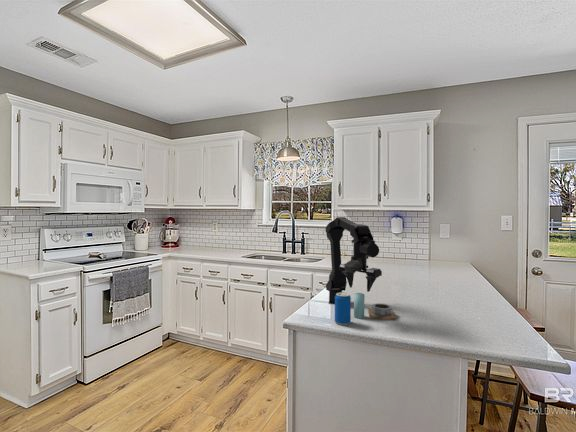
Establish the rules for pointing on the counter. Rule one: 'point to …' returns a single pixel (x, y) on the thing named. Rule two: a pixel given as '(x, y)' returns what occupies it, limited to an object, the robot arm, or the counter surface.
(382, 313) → the collar
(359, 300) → the peg
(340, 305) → the beverage can
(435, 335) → the counter surface
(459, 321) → the counter surface
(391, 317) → the base board
